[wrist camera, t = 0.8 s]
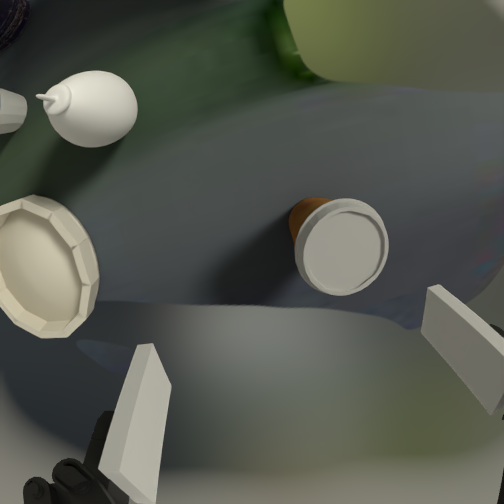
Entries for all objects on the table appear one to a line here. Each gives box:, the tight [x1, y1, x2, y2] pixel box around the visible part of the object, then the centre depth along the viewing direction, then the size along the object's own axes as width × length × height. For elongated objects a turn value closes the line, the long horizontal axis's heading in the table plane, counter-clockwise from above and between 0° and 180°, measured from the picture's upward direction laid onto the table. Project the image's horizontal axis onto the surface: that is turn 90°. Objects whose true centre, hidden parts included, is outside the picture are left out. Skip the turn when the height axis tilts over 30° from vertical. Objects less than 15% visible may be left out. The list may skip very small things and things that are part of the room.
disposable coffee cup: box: [289, 197, 388, 296], centre depth 32 cm, size 10×10×12 cm
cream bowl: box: [0, 194, 100, 338], centre depth 34 cm, size 20×20×4 cm
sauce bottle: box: [36, 71, 137, 147], centre depth 23 cm, size 8×8×18 cm
